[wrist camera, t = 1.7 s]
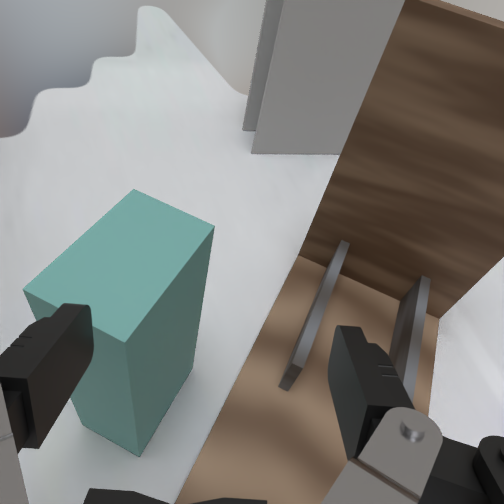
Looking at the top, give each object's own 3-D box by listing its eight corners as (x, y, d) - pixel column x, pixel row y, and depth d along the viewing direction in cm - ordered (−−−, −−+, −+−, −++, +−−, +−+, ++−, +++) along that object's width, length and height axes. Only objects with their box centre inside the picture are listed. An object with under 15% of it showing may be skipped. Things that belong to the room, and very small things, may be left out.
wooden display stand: (386, 633, 22) (1271, 792, 5) (173, 509, 24) (218, 285, 7) (429, 318, 38) (669, 77, 20) (297, 257, 40) (410, -10, 22)
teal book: (139, 457, 26) (124, 342, 14) (82, 424, 27) (22, 289, 15) (192, 368, 31) (214, 225, 19) (142, 342, 31) (133, 188, 19)
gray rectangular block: (335, 131, 58) (446, -157, 36) (349, 154, 55) (482, -148, 32) (242, 129, 54) (302, -198, 32) (251, 153, 51) (326, -193, 28)
